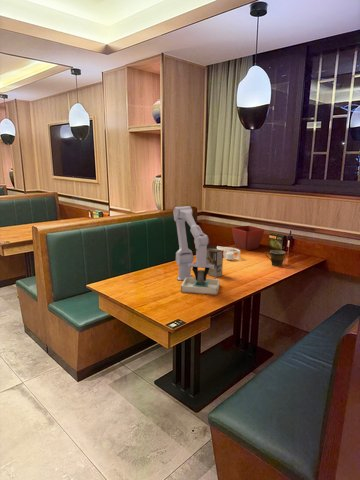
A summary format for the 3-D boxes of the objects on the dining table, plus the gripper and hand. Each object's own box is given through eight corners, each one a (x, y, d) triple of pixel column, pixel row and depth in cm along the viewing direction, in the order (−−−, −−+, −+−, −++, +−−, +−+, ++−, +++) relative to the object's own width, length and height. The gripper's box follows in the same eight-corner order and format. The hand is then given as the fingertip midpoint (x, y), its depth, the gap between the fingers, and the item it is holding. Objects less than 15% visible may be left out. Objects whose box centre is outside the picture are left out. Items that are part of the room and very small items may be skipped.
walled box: (185, 282, 201) (185, 276, 200) (219, 285, 197) (219, 279, 197) (180, 291, 187) (180, 285, 186) (217, 294, 183) (217, 288, 182)
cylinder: (196, 283, 190) (196, 271, 188) (198, 281, 193) (198, 269, 192) (203, 284, 189) (203, 272, 187) (205, 282, 192) (205, 270, 191)
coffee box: (222, 274, 215) (223, 250, 211) (216, 277, 210) (217, 252, 206) (211, 271, 221) (212, 247, 217) (205, 274, 216) (205, 249, 213)
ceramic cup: (282, 263, 238) (283, 250, 236) (285, 268, 228) (286, 254, 226) (263, 263, 239) (264, 249, 237) (265, 267, 230) (266, 253, 227)
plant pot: (263, 249, 277) (265, 229, 273) (246, 252, 267) (247, 231, 263) (247, 244, 292) (248, 225, 288) (230, 247, 282) (231, 227, 279)
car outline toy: (212, 256, 256) (212, 247, 254) (222, 254, 262) (222, 245, 261) (231, 262, 240) (232, 252, 239) (242, 260, 247) (242, 250, 245)
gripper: (187, 258, 185) (186, 281, 188) (213, 259, 183) (213, 283, 186) (189, 254, 192) (189, 277, 195) (214, 256, 189) (214, 279, 192)
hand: (200, 280), depth 191 cm, fingers closed on cylinder, 4 cm apart
